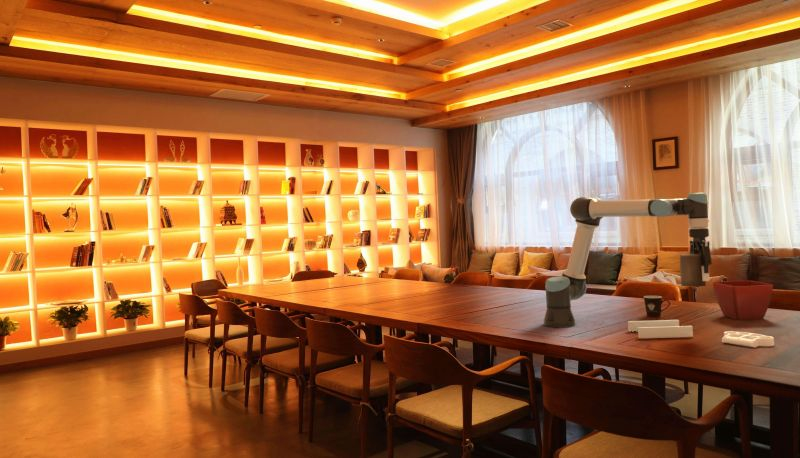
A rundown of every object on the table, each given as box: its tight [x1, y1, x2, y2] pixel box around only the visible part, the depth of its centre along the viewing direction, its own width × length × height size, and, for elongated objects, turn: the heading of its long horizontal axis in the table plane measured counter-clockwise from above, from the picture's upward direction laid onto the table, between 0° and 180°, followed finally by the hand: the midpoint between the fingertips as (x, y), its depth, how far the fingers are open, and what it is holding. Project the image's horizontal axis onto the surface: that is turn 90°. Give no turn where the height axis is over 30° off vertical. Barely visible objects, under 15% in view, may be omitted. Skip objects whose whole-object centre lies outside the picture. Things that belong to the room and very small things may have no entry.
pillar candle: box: [679, 253, 707, 288], centre depth 242 cm, size 10×10×15 cm
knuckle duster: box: [721, 330, 775, 348], centre depth 221 cm, size 3×18×15 cm
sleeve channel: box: [627, 319, 694, 339], centre depth 244 cm, size 22×15×4 cm
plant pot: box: [712, 280, 774, 321], centre depth 270 cm, size 19×19×17 cm
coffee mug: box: [643, 295, 671, 318], centre depth 283 cm, size 12×9×10 cm
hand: (700, 279), depth 242 cm, fingers closed on pillar candle, 9 cm apart
